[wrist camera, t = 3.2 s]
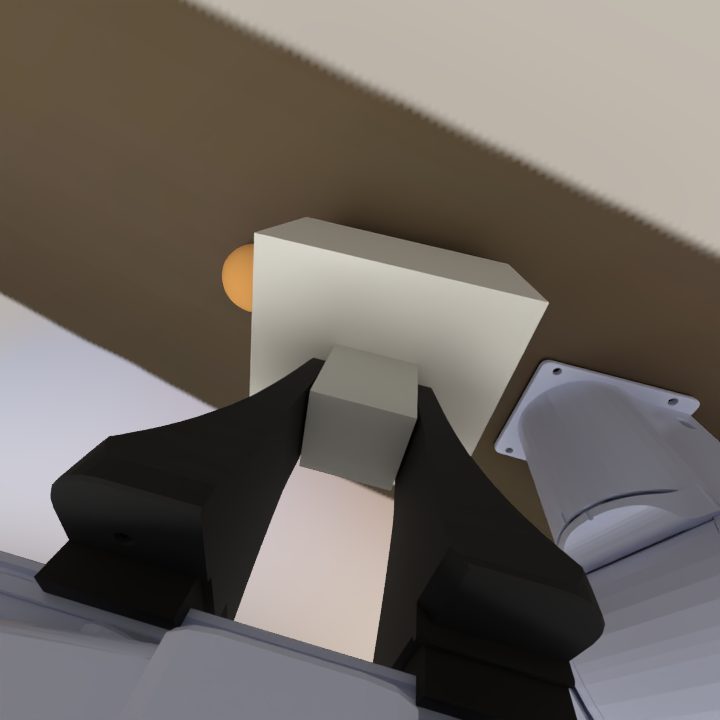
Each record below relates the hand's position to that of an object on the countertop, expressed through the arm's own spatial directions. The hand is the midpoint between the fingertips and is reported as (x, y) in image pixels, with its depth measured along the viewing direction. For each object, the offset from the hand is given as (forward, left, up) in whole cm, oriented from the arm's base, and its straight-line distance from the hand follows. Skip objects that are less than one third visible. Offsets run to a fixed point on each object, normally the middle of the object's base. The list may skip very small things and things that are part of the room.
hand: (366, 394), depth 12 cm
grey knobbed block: (0, 0, -6) cm, 6 cm away
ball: (+8, 0, -8) cm, 12 cm away
